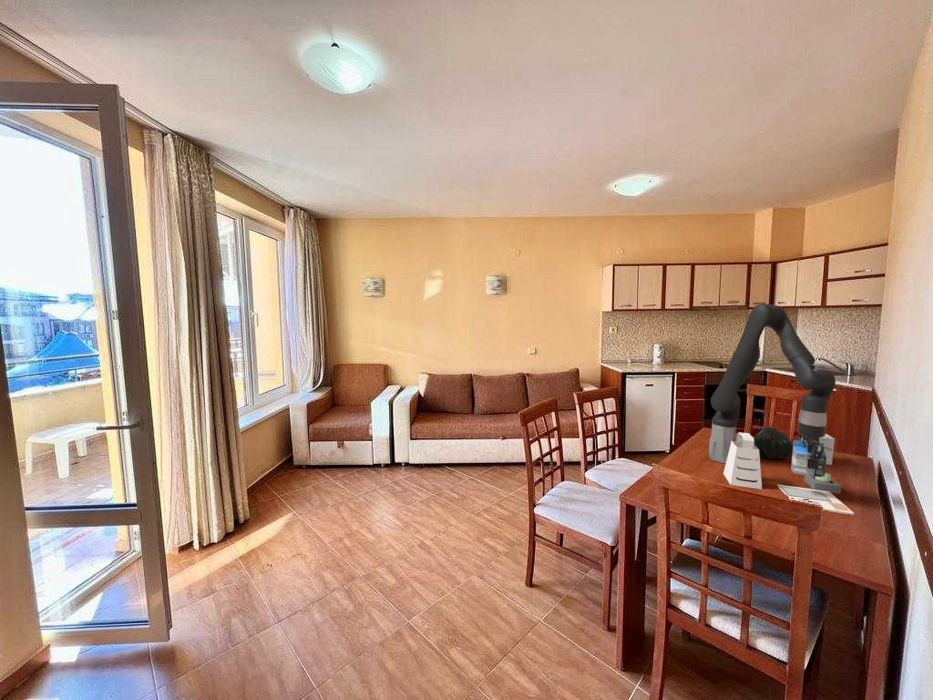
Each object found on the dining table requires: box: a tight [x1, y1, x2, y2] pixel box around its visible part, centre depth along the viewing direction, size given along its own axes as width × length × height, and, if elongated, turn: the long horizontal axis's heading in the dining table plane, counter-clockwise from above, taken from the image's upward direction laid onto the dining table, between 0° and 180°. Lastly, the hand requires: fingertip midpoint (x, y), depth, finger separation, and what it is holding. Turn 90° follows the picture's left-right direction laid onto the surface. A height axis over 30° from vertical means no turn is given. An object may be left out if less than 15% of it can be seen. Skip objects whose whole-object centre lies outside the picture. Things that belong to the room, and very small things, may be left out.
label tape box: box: [790, 439, 827, 478], centre depth 138 cm, size 9×4×12 cm, turn 62°
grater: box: [723, 432, 763, 490], centre depth 150 cm, size 10×10×20 cm
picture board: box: [777, 484, 855, 516], centre depth 136 cm, size 16×16×1 cm
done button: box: [815, 472, 832, 483], centre depth 145 cm, size 4×4×4 cm
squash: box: [753, 426, 794, 460], centre depth 174 cm, size 14×15×15 cm
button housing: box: [803, 475, 842, 494], centre depth 145 cm, size 8×8×3 cm
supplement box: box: [819, 433, 836, 466], centre depth 168 cm, size 7×7×13 cm
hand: (807, 465), depth 138 cm, fingers closed on label tape box, 4 cm apart
